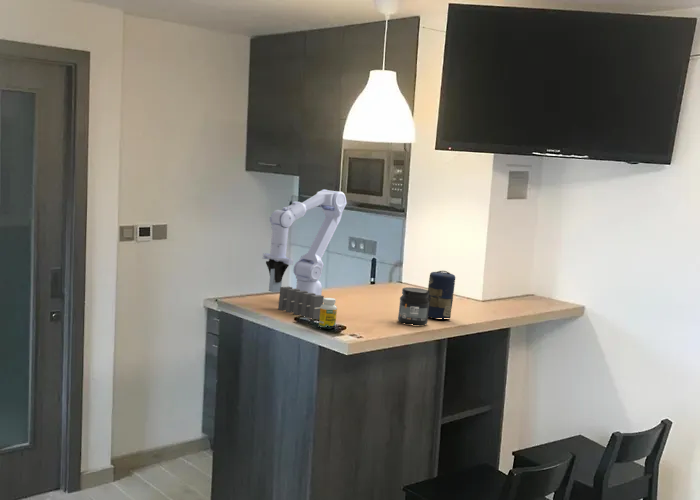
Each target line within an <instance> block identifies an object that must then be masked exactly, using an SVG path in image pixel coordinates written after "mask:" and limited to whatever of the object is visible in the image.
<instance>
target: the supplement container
mask: <svg viewBox="0 0 700 500" xmlns="http://www.w3.org/2000/svg"><path fill="white" fill-rule="evenodd" d="M401 294H402V295H401V296H400V297H399V308H398V316H397V321H398V323H400V322H401V323H400V324H402V323H405V324H413V325H424V326H426V325H427V324H428V321H429V320H428V319H429V317H428V311H429V304H430V300H429V299H428V297H429V291H428V289H426V288H420V287H408V286H407V287H403V288H402V289H401ZM405 324H404V325H405ZM425 324H426V325H425Z"/></svg>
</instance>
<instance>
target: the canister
mask: <svg viewBox="0 0 700 500" xmlns="http://www.w3.org/2000/svg"><path fill="white" fill-rule="evenodd" d="M455 285H456V276H455V275H454V274H453V273H451V272H449V271H448V270H447V271H446V270H438V271H432V272H430V273H429V279H428V286H427V290H428V291H429V297H428V299H429V300H430V304H429V311H428V318H429V317H432V318H442V319H444V318H450V319H451V316H452V308H453V302H454V301H453V300H454V292H455ZM432 318H431V319H432Z"/></svg>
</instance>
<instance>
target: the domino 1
mask: <svg viewBox="0 0 700 500" xmlns="http://www.w3.org/2000/svg"><path fill="white" fill-rule="evenodd" d="M268 283H269V285H268V291H269V292H271V293H276V292H277V293H278V292H279V293H280V287H282V283H283V279H282V280H281V282H278V283H276V282H275V269H271V272H270V274H269V282H268Z"/></svg>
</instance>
